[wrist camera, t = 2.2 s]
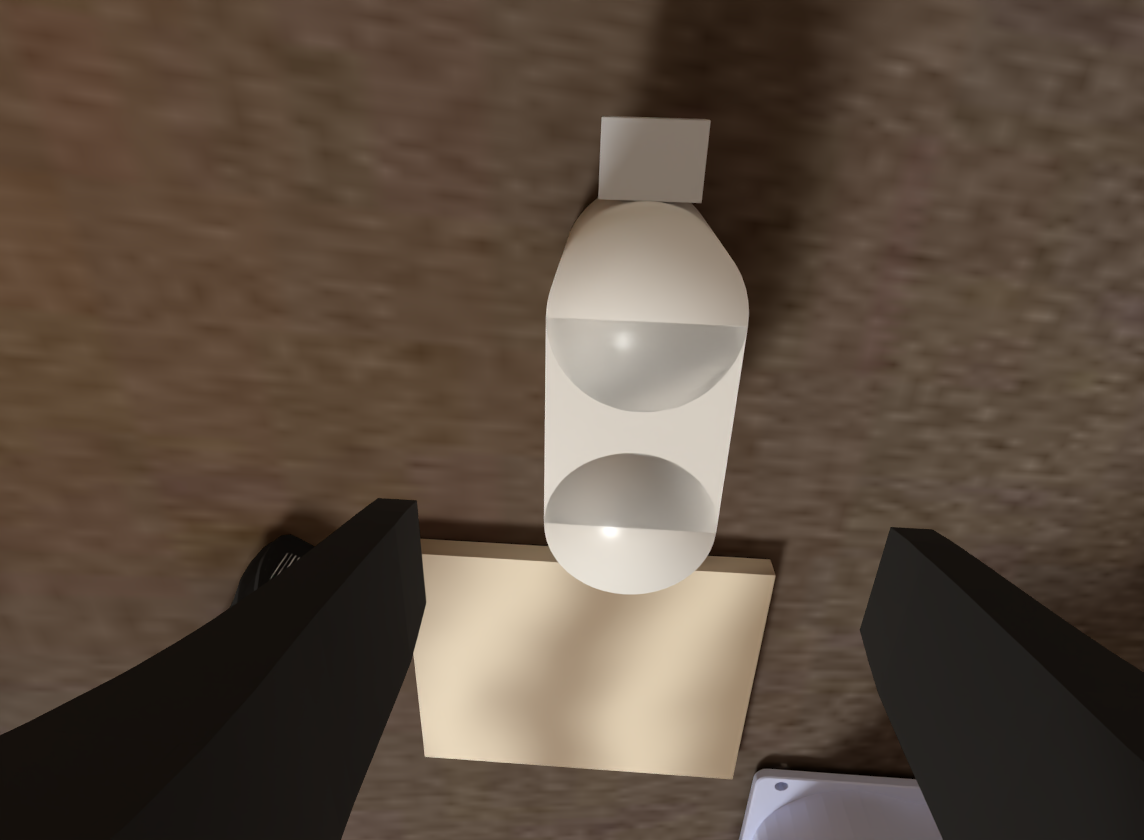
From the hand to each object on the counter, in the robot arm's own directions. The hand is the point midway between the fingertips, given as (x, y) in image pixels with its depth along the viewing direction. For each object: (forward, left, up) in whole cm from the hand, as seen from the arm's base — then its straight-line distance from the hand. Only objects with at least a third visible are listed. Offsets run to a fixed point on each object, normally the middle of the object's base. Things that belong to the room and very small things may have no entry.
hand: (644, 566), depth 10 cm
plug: (0, 0, -9) cm, 9 cm away
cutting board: (+1, +12, -9) cm, 15 cm away
